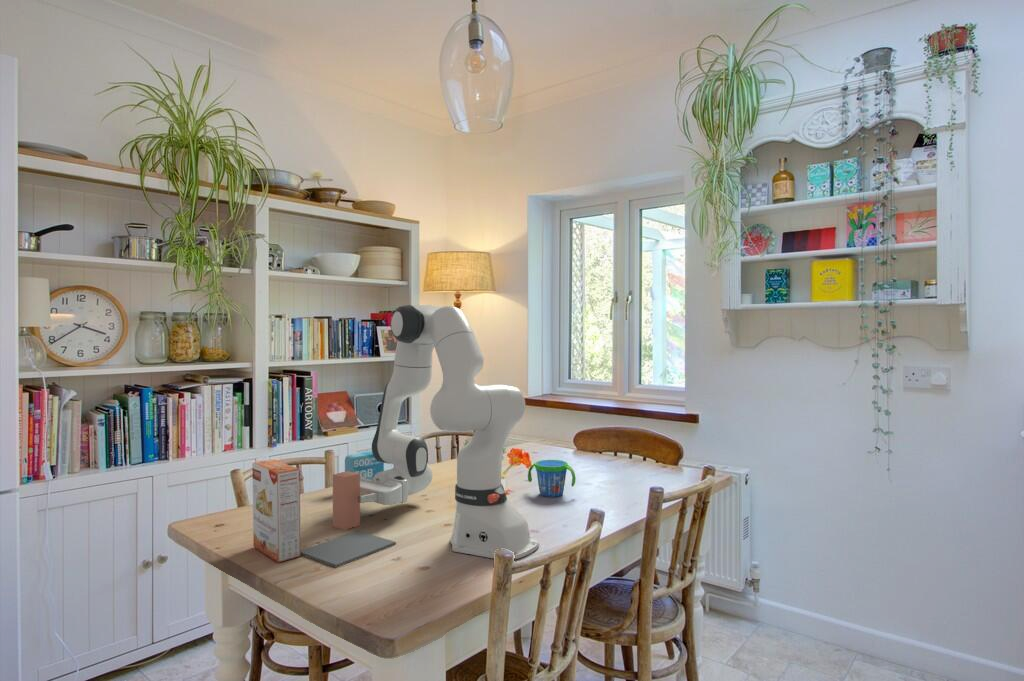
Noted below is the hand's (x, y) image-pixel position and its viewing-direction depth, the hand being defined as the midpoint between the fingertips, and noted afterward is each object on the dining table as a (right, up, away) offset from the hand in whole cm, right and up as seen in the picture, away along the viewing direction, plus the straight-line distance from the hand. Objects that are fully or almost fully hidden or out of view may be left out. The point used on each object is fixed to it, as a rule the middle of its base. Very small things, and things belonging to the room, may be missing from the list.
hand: (347, 496), depth 165 cm
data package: (-4, -7, +36) cm, 37 cm away
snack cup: (+57, -7, +31) cm, 65 cm away
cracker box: (-12, -8, -20) cm, 24 cm away
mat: (+5, -8, -17) cm, 20 cm away
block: (0, -8, 0) cm, 8 cm away
